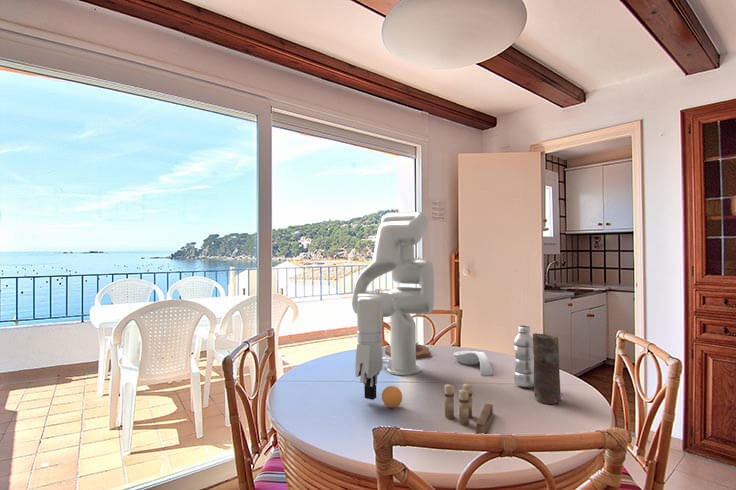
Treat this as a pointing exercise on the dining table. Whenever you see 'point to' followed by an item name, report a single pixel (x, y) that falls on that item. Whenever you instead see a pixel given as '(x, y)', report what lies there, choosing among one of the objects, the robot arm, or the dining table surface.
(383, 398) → the ball
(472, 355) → the spoon rest
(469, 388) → the pin
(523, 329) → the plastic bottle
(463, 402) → the pin
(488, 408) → the brown wooden bar
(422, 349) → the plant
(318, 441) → the dining table surface
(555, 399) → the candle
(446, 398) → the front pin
